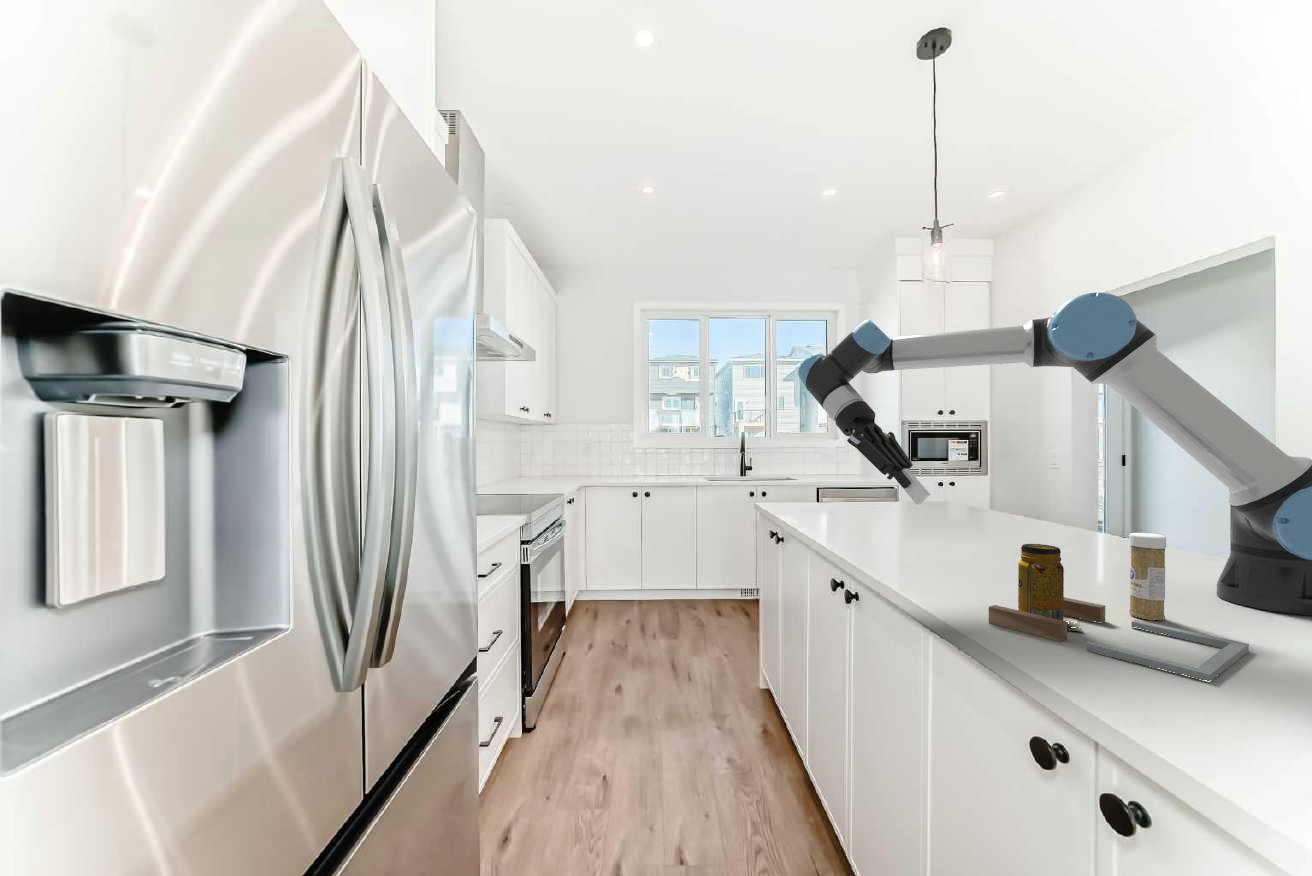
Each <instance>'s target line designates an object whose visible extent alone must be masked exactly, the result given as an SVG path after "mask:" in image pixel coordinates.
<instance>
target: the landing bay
mask: <svg viewBox="0 0 1312 876" xmlns="http://www.w3.org/2000/svg"><path fill="white" fill-rule="evenodd" d="M1131 627H1137V628H1141V629H1144V630H1148V631H1152V632H1156V633H1163V634H1166V635H1170V636H1173V637H1172V638H1174V637H1176V638H1175V639H1178V638H1179V639H1180V640H1183V639H1187V640H1191V641H1190V642H1192V641H1195V642H1194V643H1196V642H1199V643H1198V644H1201V643H1202V644H1201V645H1206V646H1210V645H1212V646H1211V647H1215V648H1220V650H1219V651H1217V652H1216V653H1215V654H1213V655H1211V656H1210V657H1209V658H1207V660H1205V661H1204V662H1203V663H1201V664H1199V665H1198V666H1196V667H1195V666H1191V665H1188V664H1183V663H1180V662H1176V661H1170V660H1168V659H1165V658H1164V659H1163V658H1160V657H1156V656H1152V655H1148V654H1143V653H1140V652H1135V651H1132V650H1129V649H1124V648H1119V647H1117V646H1116V647H1115V646H1111V645H1107V644H1103V643H1099V642H1095V641H1091V640H1090V641H1089V642H1087V643H1086V652H1090V653H1094V654H1099V655H1102V656H1105V657H1109V656H1111V657H1110V658H1112V657H1115V658H1114V659H1116V658H1119V659H1118V660H1120V659H1123V660H1122V661H1124V660H1126V661H1125V662H1128V661H1130V662H1129V663H1132V662H1136V663H1139V664H1143V665H1147V666H1151V667H1154V668H1160V669H1164V670H1167V671H1171V672H1175V673H1177V674H1184V675H1187V676H1190V677H1194V678H1197V679H1201V680H1207V681H1210V680H1213V679H1214V678H1215V677H1216V676H1217V675H1219V674H1220V675H1221V674H1222V672H1223V671H1224V670H1225V671H1227V669H1229V668H1230V667H1231V666H1233V665H1234V664H1235V663H1236V662H1238V661H1239V660H1240V659H1242V657H1243V656H1245V655H1246V654H1248V653H1249V652H1250V644H1249V643H1246V642H1243V641H1237V640H1233V639H1227V638H1223V637H1218V636H1213V635H1209V634H1204V633H1200V632H1194V631H1190V630H1186V629H1180V628H1176V627H1170V626H1168V625H1161V624H1157V623H1152V622H1146V621H1145V620H1144V621H1143V620H1139V619H1134V620H1131ZM1131 627H1130V628H1131ZM1152 632H1151V633H1152ZM1156 633H1155V634H1156ZM1170 636H1169V637H1170ZM1187 640H1186V641H1187ZM1139 664H1138V665H1139ZM1143 665H1142V666H1143ZM1147 666H1146V667H1147ZM1151 667H1150V668H1151ZM1154 668H1153V669H1154ZM1225 671H1224V672H1225ZM1177 674H1176V675H1177ZM1220 675H1219V676H1220ZM1216 678H1217V677H1216ZM1216 678H1215V679H1216ZM1215 679H1214V680H1215ZM1214 680H1213V681H1214Z"/></svg>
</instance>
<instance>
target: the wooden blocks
mask: <svg viewBox="0 0 1312 876" xmlns="http://www.w3.org/2000/svg"><path fill="white" fill-rule="evenodd" d="M1064 615H1066V616H1065V617H1069V616H1071V617H1070V618H1073V617H1076V618H1075V619H1077V618H1081V619H1080V620H1082V619H1084V620H1083V621H1086V620H1088V621H1087V622H1091V621H1096V622H1102V621H1105V622H1106V605H1105V604H1099V603H1094V602H1091V601H1090V602H1089V601H1084V600H1079V599H1074V598H1070V597H1066V596H1064ZM988 624H991V625H996V626H999V627H1003V628H1007V629H1011V630H1015V631H1019V632H1023V633H1027V634H1030V635H1032V636H1033V635H1034V636H1038V637H1041V638H1046V639H1049V640H1054V641H1058V642H1060V643H1061V642H1063V641H1066V640H1067V639H1068V630H1067V622H1066V621H1062V620H1058V619H1053V618H1049V617H1045V616H1040V615H1036V614H1032V613H1028V612H1023V611H1019V610H1018V609H1014V608H1010V607H1006V606H1001V605H996V604H995V605H991V606H988Z"/></svg>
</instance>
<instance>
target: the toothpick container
mask: <svg viewBox="0 0 1312 876" xmlns="http://www.w3.org/2000/svg"><path fill="white" fill-rule="evenodd" d="M1128 539H1129V541H1128V543H1129V545H1130V568H1129V569H1130V570H1129V573H1130V575H1129V579H1130V580H1129V595H1130V596H1129V597H1130V601H1129V611H1128V613H1129V615H1130V616H1132V615H1133V616H1132V617H1134V616H1135V617H1134V618H1137V617H1139V618H1138V619H1140V618H1142V619H1141V620H1144V619H1147V620H1146V621H1155V620H1157V621H1158V620H1159V622H1160V621H1164V620H1165V619H1166V616H1165V599H1166V560H1165V558H1166V555H1165V554H1166V548H1167V536H1164V535H1162V534H1158V533H1150V532H1149V533H1147V532H1132V533H1130V534H1129V537H1128Z"/></svg>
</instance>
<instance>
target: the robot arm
mask: <svg viewBox="0 0 1312 876" xmlns="http://www.w3.org/2000/svg"><path fill="white" fill-rule="evenodd" d="M1157 339H1158V336H1157V334H1156V333H1155V332H1153V331H1152V330H1151V329H1149V328H1148V327H1147V326H1146V325H1145V324H1143V323H1142V322H1141V321H1140V320H1138V319H1137V315H1136V312H1134V310H1133V308H1132V307H1131V305H1130V303H1128V302H1127V301H1126V300H1124V299H1123V298H1122V297H1119V296H1117V295H1115V294H1113V293H1107V292H1100V291H1099V292H1089V293H1083V294H1081V295H1078V296H1075V297H1073V298H1071V299H1069V300H1068V301H1066V302H1065V303H1063V304H1062V305H1061V306H1060V307H1059V308H1058V309H1057V310H1056V311H1055V312H1054V313H1053V314H1052V315H1051V316H1050V317H1045V318H1044V317H1043V318H1037V319H1030V320H1029V321H1028V322H1027V323H1026V324H1024V325H1016V326H1007V327H1006V326H1004V327H994V328H992V327H991V328H982V329H971V330H960V331H949V332H939V333H926V334H916V335H906V336H905V335H904V336H894V337H889V336H888V335H887V334H885V332H884V331H883V330H881V328H880V327H879V326H878V325H876V323H874V322H873V321H872V320H870V319H866V320H864V321H862V322H861V323H859V325H857V326H856V327H854V328H853V329H852V330H851V332H850V333H849V334H847V335H846V337H844V338H843V339H842V340H841V341H840V342H839V343H838V344H837V345H836V346H835V347H834V348H833V349H832V350H831V351H830V352H829V353H828V354H823V353H820V352H819V353H813V354H812V355H811V356H810V357H807V358H805V359H804V360H803V361H802V362H801V364H800V365H799V368H798V371H797V374H798V378H799V379H800V381H801V382H802V384H803V385H804V387H805V389H806V390H807V391H808V392H809V393H810V394H811V395H812V397H813V398H814V399H815V400H816V401H817V402H818V404H819V406H821V407H822V409H823V410H824V411H825V412H826V414H827V415H828V418H830V419H831V420H832V421H833V422H834V423H835V425H836V427H838V428H839V430H840V432H841V433H842V434H843V435H844V436H846V437H849V438H847V440H846V441H847V443H848V444H850V445H851V446H852V447H854V448H855V449H857V451H858V452H860V453H861V455H862V456H863V457H865V458H866V459H867V460H868V461H869V462H870V463H871V464H872V465H873V466H874V467H875V468H876V470H878V471H879V472H880V473H881V474H882V475H884V476H886V475H888V476H887V477H886V478H887V479H888V480H889V481H890V480H892V479H893V478H894V479H895V481H896V482H897V483H898V484H899V486H900V487H901V488H902V489H903V490H904V491H905V493H906V494H907V495H908V496H909V498H910V499H911V500H912V501H913V502H914V504H915V505H920V504H922V503H924V501H925V500H927V498H929V496H931V493H930V492H929V491H928V490H927V489H926V488H925V486H924V485H923V484H922V482H920V480H918V478H917V477H916V476H915V475H914V474H913V473H912V472H913V471H911V470H910V469H911V468H912V467H913V465H914V464H913V462H911V460H910V458H909V456H908V455H907V454H906V452H905V451H904V449H903V448H902V446H901V445H900V444H899V442H898V441H897V439H896V436H895V433H894V432H892V431H889V432H888V433H886V432H883V431H884V430H883V429H882V428H881V426H879V425H878V424H877V423H876V422H875V421H876V413H875V411H874V410H873V408H872V407H871V406H870V405H869V404H868V403H867V402H866V401H864V398H863V397H862V395H861V394H860V393H859V392H858V391H857V390H856V389H855V388H854V387H853V385H851V384H850V381H851V380H853V379H854V378H856V376H857V375H859V374H860V373H861V372H864V373H867V374H879V373H881V372H887V371H888V372H889V371H890V372H891V371H903V370H921V369H922V370H923V369H936V368H937V369H938V368H951V367H952V368H954V367H970V366H971V367H972V366H983V365H984V366H986V365H987V366H988V365H1003V364H1005V365H1006V364H1023V363H1024V364H1026V365H1028V366H1029V367H1030V368H1037V367H1062V368H1063V367H1064V368H1074V370H1075V371H1077V372H1078V373H1079V374H1081V376H1082V377H1084V378H1085V379H1087V381H1089V382H1090V383H1091V384H1093V385H1098V384H1099V385H1100V384H1101V385H1108V386H1109V387H1111V388H1112V389H1113V390H1114V391H1115V392H1116V393H1117V394H1119V396H1121V397H1122V398H1123V399H1124V400H1125V401H1127V402H1128V403H1129V404H1130V405H1131V406H1132V407H1134V409H1136V410H1137V411H1138V412H1139V413H1141V414H1142V415H1143V416H1144V417H1145V418H1146V419H1147V420H1149V422H1151V423H1153V425H1155V426H1156V427H1157V428H1158V429H1159V430H1160V431H1162V432H1163V433H1164V434H1165V435H1166V436H1167V437H1169V438H1170V439H1171V440H1172V441H1173V442H1174V443H1175V444H1177V445H1178V447H1180V449H1182V450H1184V452H1186V453H1187V454H1188V455H1189V456H1190V457H1192V459H1194V460H1195V461H1196V462H1197V463H1198V464H1200V465H1201V466H1202V467H1203V468H1204V469H1205V470H1206V471H1208V472H1209V473H1210V474H1211V475H1213V476H1214V477H1215V478H1216V479H1217V480H1219V482H1221V483H1222V484H1223V485H1224V486H1225V487H1226V488H1228V491H1229V496H1228V503H1229V504H1230V507H1229V508H1230V510H1229V512H1230V513H1229V514H1230V518H1229V521H1230V522H1229V524H1230V525H1229V528H1230V529H1229V530H1230V531H1229V532H1230V533H1229V537H1230V545H1229V547H1230V553H1229V557H1228V558H1227V560H1226V562H1225V565H1224V566H1223V569H1222V571H1221V573H1220V576H1219V577H1218V580H1217V582H1216V596H1217V597H1219V598H1220V599H1222V600H1225V601H1227V602H1231V603H1234V604H1237V605H1241V606H1245V607H1250V608H1255V609H1260V610H1266V611H1271V612H1277V613H1284V614H1293V615H1303V616H1312V458H1310V457H1304V456H1291V455H1288V454H1286V452H1284V451H1283V450H1282V449H1281V448H1279V447H1278V446H1276V445H1275V444H1274V443H1273V442H1271V441H1270V440H1269V439H1268V438H1267V437H1265V435H1263V434H1262V433H1260V432H1259V431H1258V430H1257V429H1256V428H1254V427H1253V426H1252V425H1251V424H1250V423H1248V422H1247V421H1246V420H1245V419H1243V418H1242V417H1241V416H1240V415H1239V414H1237V413H1236V412H1234V411H1233V410H1232V409H1231V408H1230V407H1228V406H1227V405H1226V404H1225V403H1224V402H1222V401H1221V400H1220V399H1219V398H1217V397H1216V396H1215V395H1214V394H1212V393H1211V392H1210V391H1209V390H1208V389H1206V388H1205V387H1204V386H1203V385H1202V384H1200V383H1199V382H1198V381H1197V380H1195V379H1194V378H1193V377H1192V376H1191V375H1189V374H1188V373H1186V371H1184V370H1183V369H1182V368H1180V367H1179V366H1178V365H1177V364H1175V363H1174V361H1172V360H1171V359H1170V358H1168V357H1167V356H1166V355H1165V354H1164V353H1162V352H1161V351H1160V350H1158V347H1157Z"/></svg>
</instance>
